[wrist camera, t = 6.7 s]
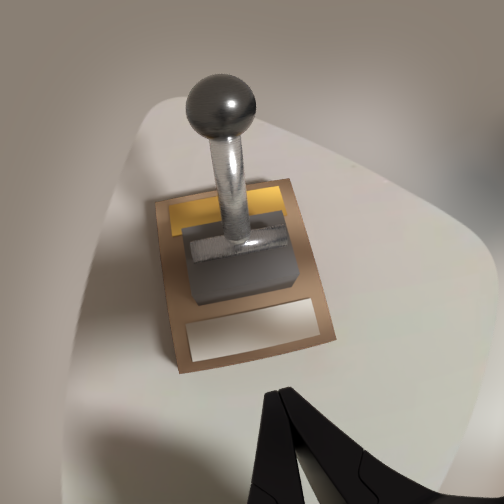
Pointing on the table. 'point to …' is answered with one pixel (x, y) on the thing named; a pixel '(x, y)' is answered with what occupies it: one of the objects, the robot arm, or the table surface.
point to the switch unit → (240, 283)
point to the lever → (228, 166)
